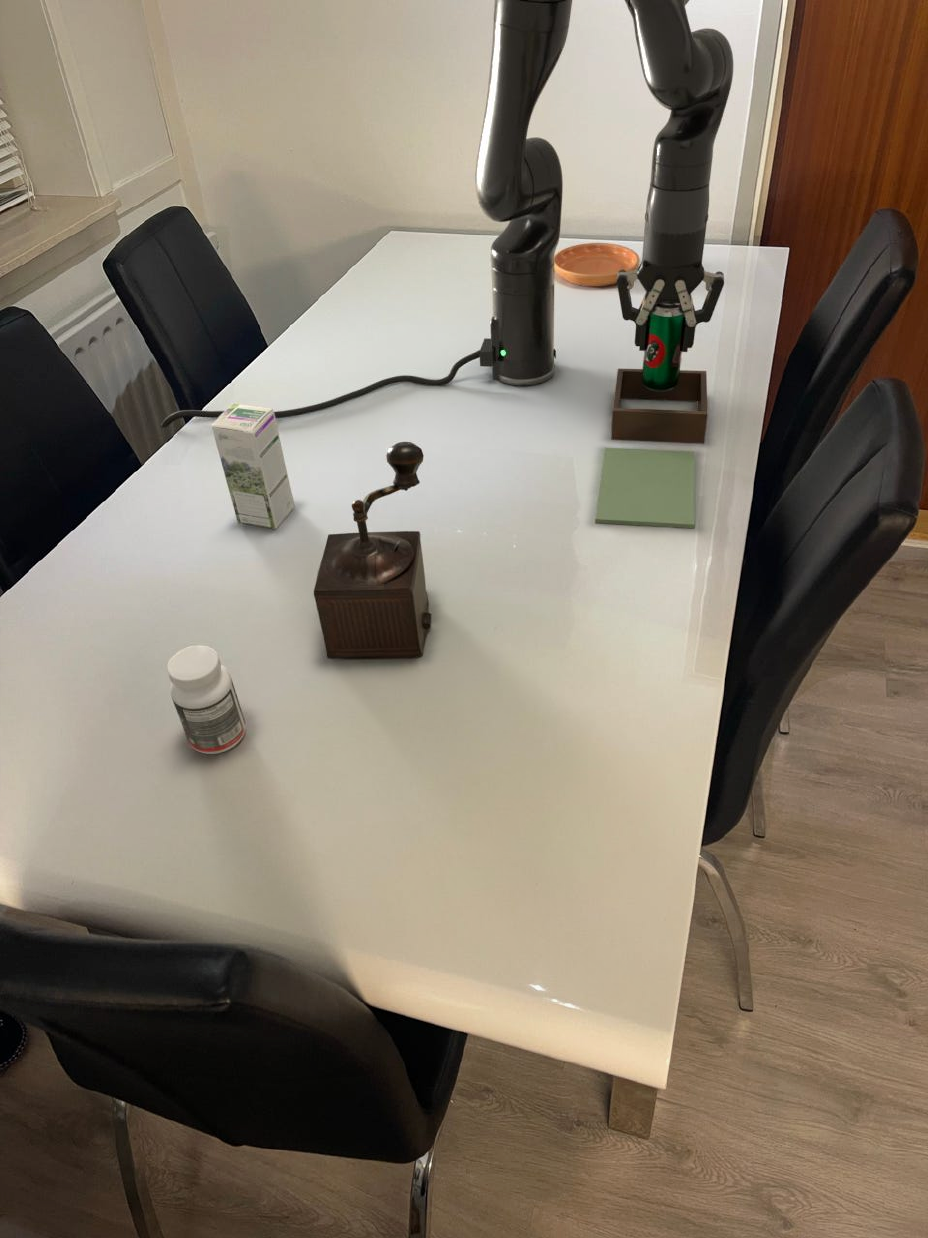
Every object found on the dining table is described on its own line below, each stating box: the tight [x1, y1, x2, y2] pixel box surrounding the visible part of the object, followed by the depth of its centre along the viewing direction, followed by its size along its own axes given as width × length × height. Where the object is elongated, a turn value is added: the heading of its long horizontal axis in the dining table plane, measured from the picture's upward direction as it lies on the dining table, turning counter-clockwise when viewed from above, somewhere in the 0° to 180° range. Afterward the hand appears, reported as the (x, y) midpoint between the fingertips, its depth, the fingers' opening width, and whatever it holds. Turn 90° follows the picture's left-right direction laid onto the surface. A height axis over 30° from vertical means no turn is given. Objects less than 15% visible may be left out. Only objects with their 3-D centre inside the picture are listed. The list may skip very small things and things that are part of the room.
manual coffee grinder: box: [313, 441, 433, 660], centre depth 99 cm, size 16×11×18 cm
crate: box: [610, 367, 708, 444], centre depth 132 cm, size 13×13×4 cm
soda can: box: [641, 301, 686, 392], centre depth 127 cm, size 5×5×12 cm
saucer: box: [554, 242, 640, 287], centre depth 175 cm, size 16×16×3 cm
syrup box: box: [211, 403, 296, 530], centre depth 116 cm, size 6×6×14 cm
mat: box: [594, 447, 696, 529], centre depth 121 cm, size 12×17×1 cm
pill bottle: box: [166, 645, 247, 755], centre depth 89 cm, size 6×6×10 cm
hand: (663, 348), depth 127 cm, fingers closed on soda can, 5 cm apart
